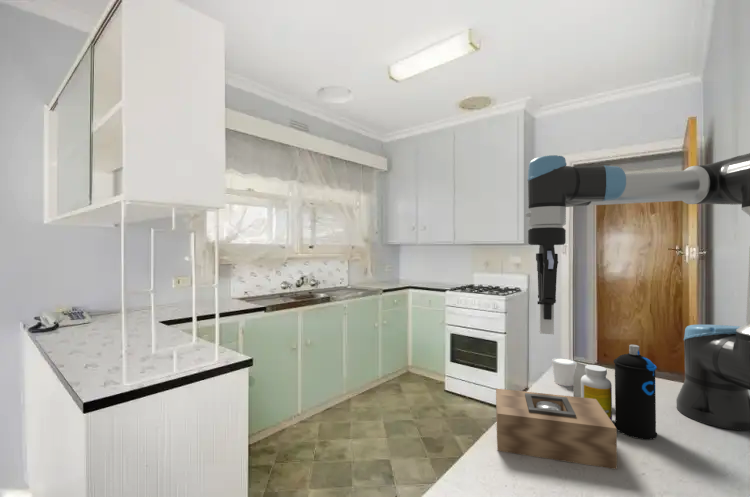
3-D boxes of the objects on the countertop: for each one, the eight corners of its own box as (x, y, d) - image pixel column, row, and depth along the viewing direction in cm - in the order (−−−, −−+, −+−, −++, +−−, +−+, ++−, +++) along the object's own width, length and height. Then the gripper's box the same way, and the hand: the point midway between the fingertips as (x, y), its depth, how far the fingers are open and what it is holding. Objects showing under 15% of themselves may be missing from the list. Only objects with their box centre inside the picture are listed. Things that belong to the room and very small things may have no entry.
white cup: (581, 386, 110) (580, 364, 110) (559, 387, 110) (558, 364, 110) (568, 378, 117) (568, 357, 117) (547, 378, 117) (547, 357, 117)
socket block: (596, 433, 83) (595, 396, 83) (616, 469, 69) (616, 425, 69) (496, 420, 89) (496, 386, 89) (497, 450, 76) (497, 410, 76)
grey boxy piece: (598, 407, 96) (597, 370, 96) (573, 398, 102) (573, 363, 102) (605, 404, 98) (605, 367, 98) (580, 395, 104) (580, 361, 104)
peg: (559, 437, 81) (559, 402, 81) (563, 449, 76) (563, 412, 76) (535, 434, 82) (535, 399, 82) (538, 445, 78) (537, 409, 78)
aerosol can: (611, 431, 83) (610, 346, 83) (617, 418, 90) (616, 339, 89) (655, 444, 78) (654, 353, 78) (659, 429, 84) (658, 345, 84)
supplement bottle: (617, 426, 86) (616, 373, 86) (586, 424, 87) (586, 371, 87) (605, 413, 92) (604, 364, 92) (577, 411, 94) (576, 362, 94)
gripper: (525, 229, 87) (525, 325, 87) (531, 226, 74) (531, 339, 74) (559, 228, 84) (559, 328, 84) (571, 225, 72) (571, 341, 72)
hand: (546, 333), depth 79 cm, fingers closed
